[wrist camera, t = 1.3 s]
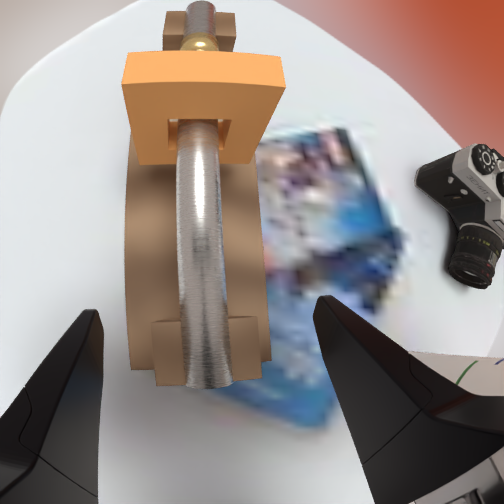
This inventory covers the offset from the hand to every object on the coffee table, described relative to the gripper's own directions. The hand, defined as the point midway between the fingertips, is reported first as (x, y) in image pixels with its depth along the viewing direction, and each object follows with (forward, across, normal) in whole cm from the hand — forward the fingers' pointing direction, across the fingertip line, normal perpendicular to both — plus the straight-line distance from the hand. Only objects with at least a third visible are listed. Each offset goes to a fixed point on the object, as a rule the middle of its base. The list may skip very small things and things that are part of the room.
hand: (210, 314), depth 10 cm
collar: (+13, 0, -1) cm, 13 cm away
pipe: (+11, 0, -2) cm, 11 cm away
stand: (+16, 0, +4) cm, 16 cm away
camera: (+13, -27, +6) cm, 31 cm away
